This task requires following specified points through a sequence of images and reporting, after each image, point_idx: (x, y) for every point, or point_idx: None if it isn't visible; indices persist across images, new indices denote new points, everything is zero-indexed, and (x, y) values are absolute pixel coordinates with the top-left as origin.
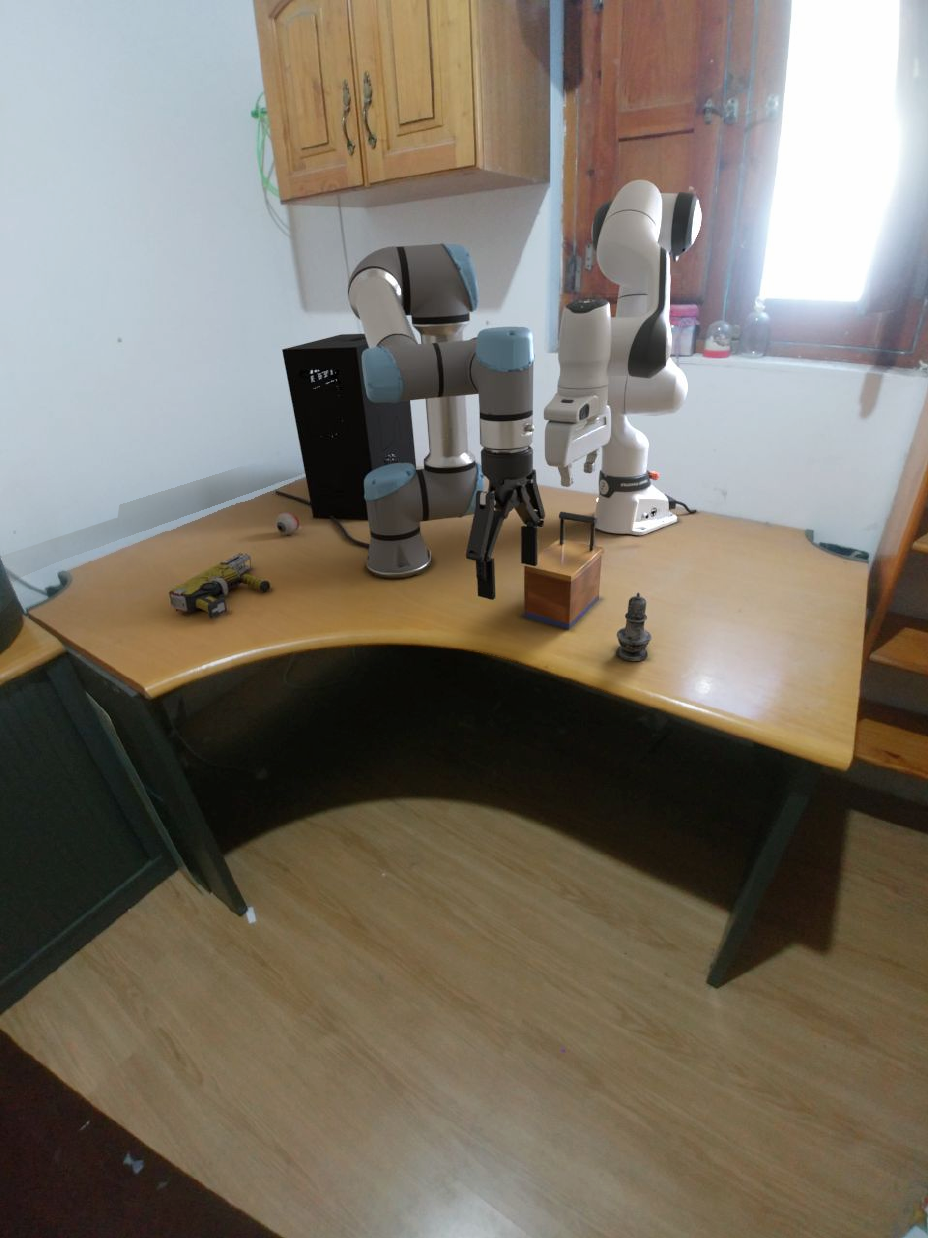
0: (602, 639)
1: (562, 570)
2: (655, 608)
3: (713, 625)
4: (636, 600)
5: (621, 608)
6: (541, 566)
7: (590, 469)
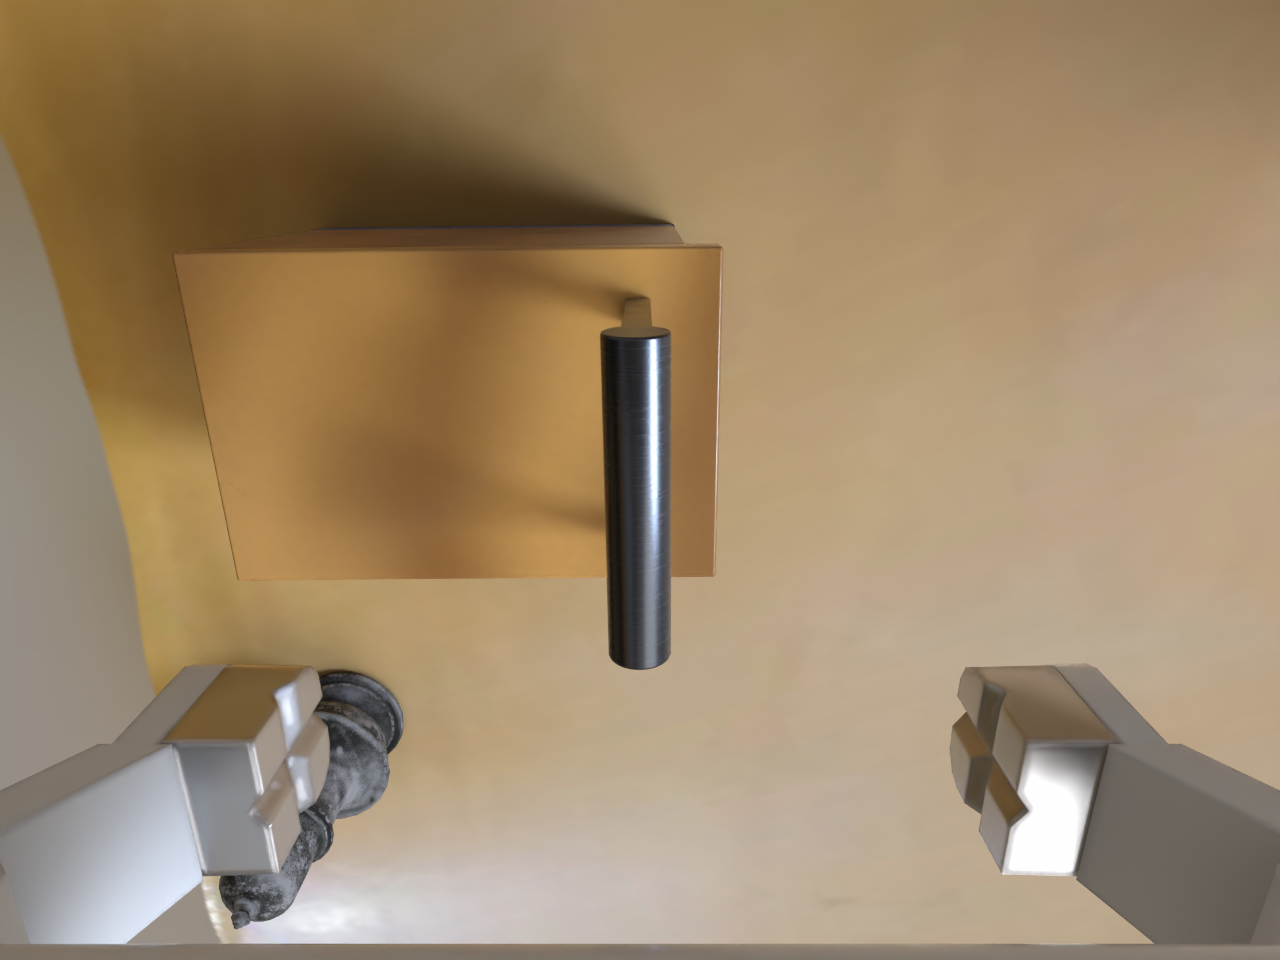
0: (373, 600)
1: (270, 506)
2: (712, 678)
3: (688, 863)
4: (226, 904)
5: None
6: (232, 367)
7: (976, 786)
